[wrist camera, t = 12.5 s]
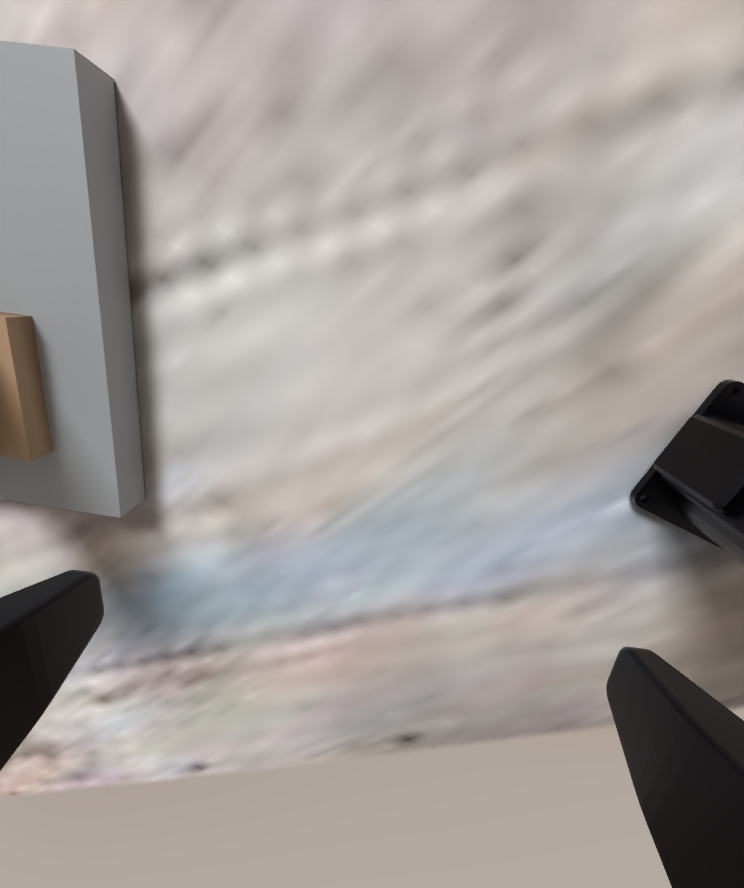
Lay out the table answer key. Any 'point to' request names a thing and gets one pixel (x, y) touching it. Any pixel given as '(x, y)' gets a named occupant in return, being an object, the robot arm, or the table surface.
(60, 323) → the display ledge
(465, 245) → the table surface
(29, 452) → the brown tall block
